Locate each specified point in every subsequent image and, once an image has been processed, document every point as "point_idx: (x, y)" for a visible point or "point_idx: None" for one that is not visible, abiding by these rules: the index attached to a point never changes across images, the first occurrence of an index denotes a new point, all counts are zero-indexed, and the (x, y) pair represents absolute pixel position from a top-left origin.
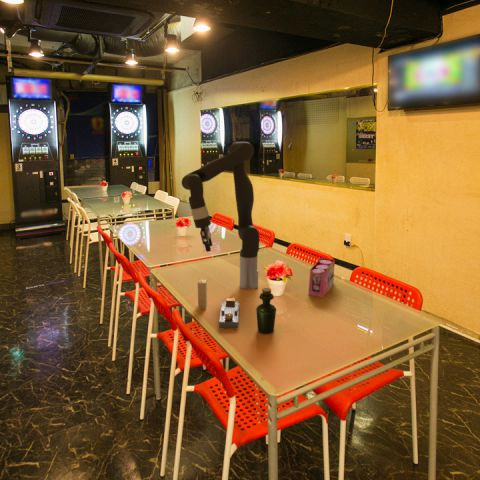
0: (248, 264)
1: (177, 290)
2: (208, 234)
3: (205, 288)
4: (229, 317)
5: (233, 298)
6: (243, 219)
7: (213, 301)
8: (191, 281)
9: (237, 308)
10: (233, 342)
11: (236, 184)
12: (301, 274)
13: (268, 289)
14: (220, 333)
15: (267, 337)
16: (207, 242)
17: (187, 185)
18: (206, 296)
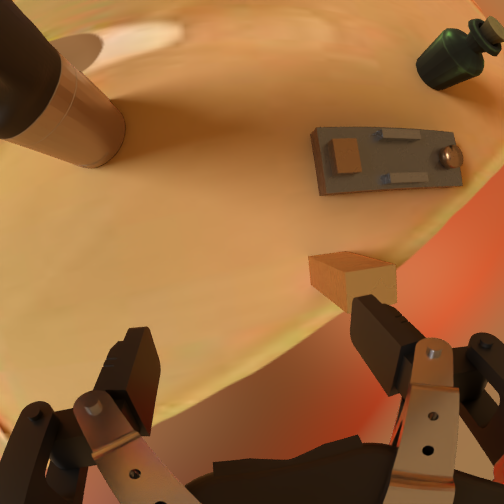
0: (78, 87)
1: (179, 395)
2: (450, 442)
3: (383, 261)
4: (460, 154)
5: (334, 144)
6: None
7: (266, 240)
8: (84, 364)
9: (400, 129)
10: (488, 150)
11: None
12: None
13: (495, 23)
14: (467, 181)
15: None
16: (493, 343)
17: None
18: (338, 258)
